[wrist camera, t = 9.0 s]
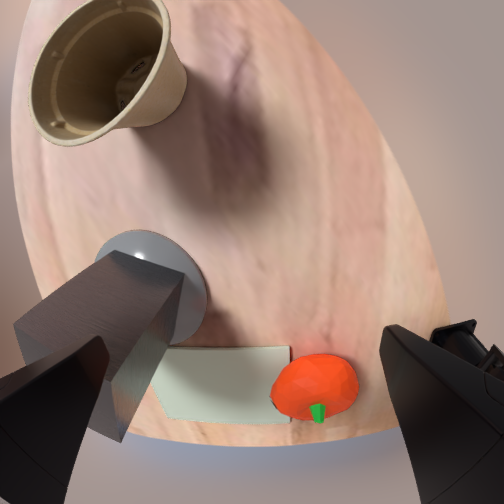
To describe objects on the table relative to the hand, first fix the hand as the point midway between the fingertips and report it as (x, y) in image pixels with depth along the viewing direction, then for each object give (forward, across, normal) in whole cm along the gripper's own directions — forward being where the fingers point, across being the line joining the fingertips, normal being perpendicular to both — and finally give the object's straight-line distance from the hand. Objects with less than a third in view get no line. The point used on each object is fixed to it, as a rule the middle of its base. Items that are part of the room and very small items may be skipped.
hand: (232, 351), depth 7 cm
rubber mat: (+13, +5, +16) cm, 22 cm away
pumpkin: (+13, -4, +14) cm, 19 cm away
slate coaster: (+13, +10, +4) cm, 17 cm away
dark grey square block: (+13, +10, +4) cm, 17 cm away
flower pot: (+14, +7, -12) cm, 19 cm away
